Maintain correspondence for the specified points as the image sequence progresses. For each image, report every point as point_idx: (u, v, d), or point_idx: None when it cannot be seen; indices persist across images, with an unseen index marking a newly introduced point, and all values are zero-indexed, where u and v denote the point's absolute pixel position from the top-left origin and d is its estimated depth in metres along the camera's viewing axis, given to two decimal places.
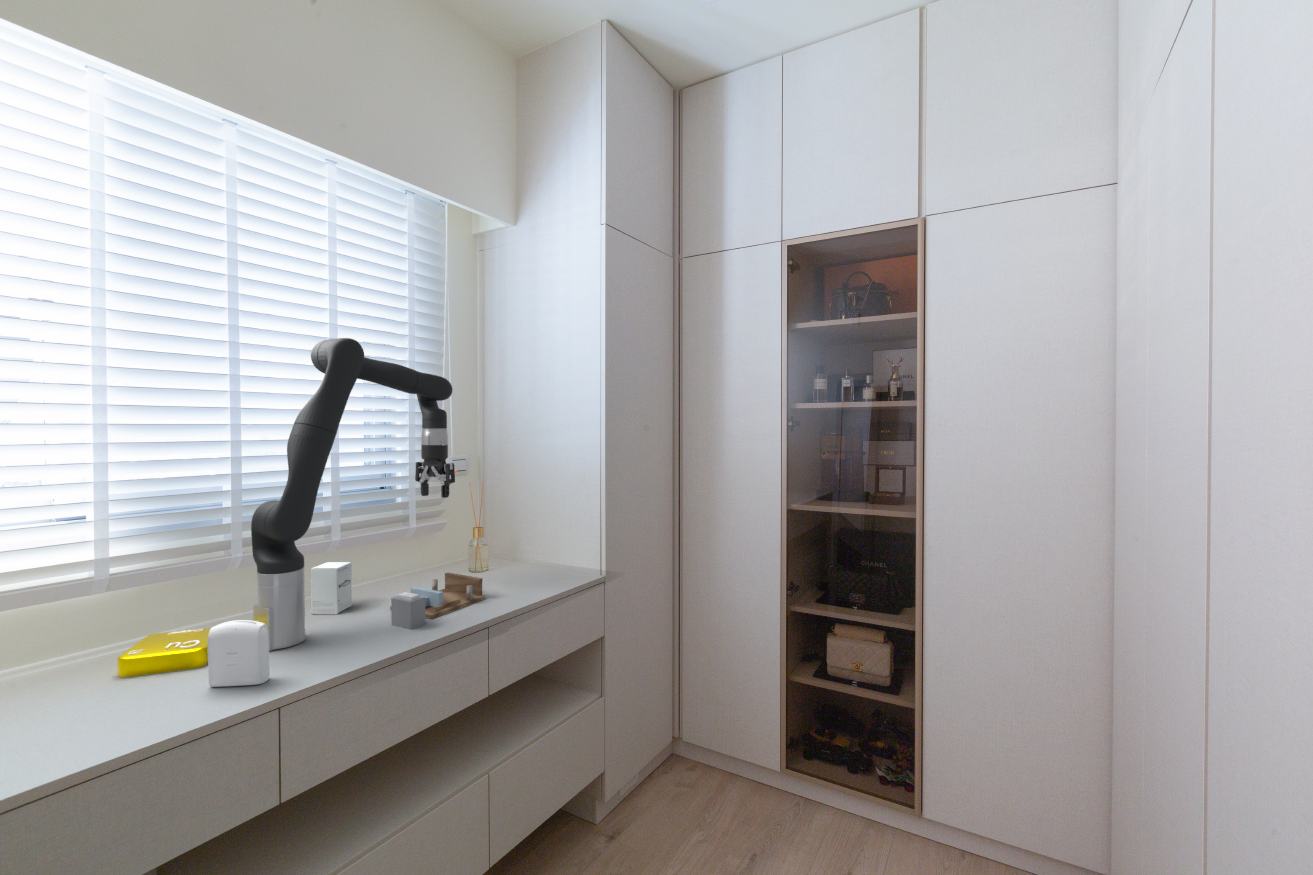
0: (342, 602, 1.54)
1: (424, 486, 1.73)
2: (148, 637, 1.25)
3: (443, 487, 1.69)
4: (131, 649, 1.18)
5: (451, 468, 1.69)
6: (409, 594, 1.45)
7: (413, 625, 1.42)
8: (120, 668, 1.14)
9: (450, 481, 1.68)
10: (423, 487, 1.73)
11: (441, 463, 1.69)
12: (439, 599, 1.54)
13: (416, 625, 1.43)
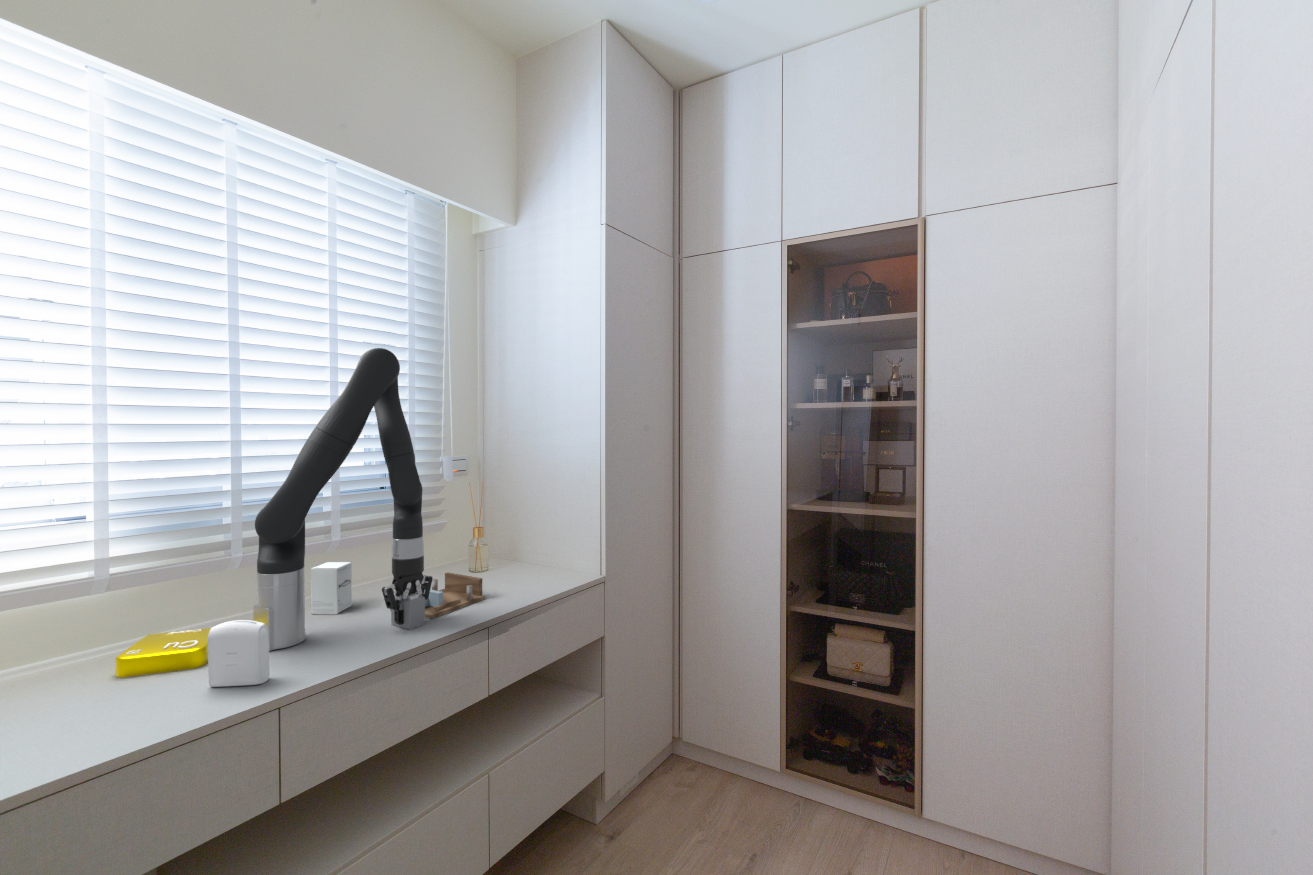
0: (342, 602, 1.54)
1: None
2: (146, 637, 1.25)
3: None
4: (129, 649, 1.18)
5: None
6: (409, 594, 1.45)
7: (413, 625, 1.42)
8: (118, 668, 1.14)
9: None
10: None
11: None
12: (439, 599, 1.54)
13: (416, 625, 1.43)
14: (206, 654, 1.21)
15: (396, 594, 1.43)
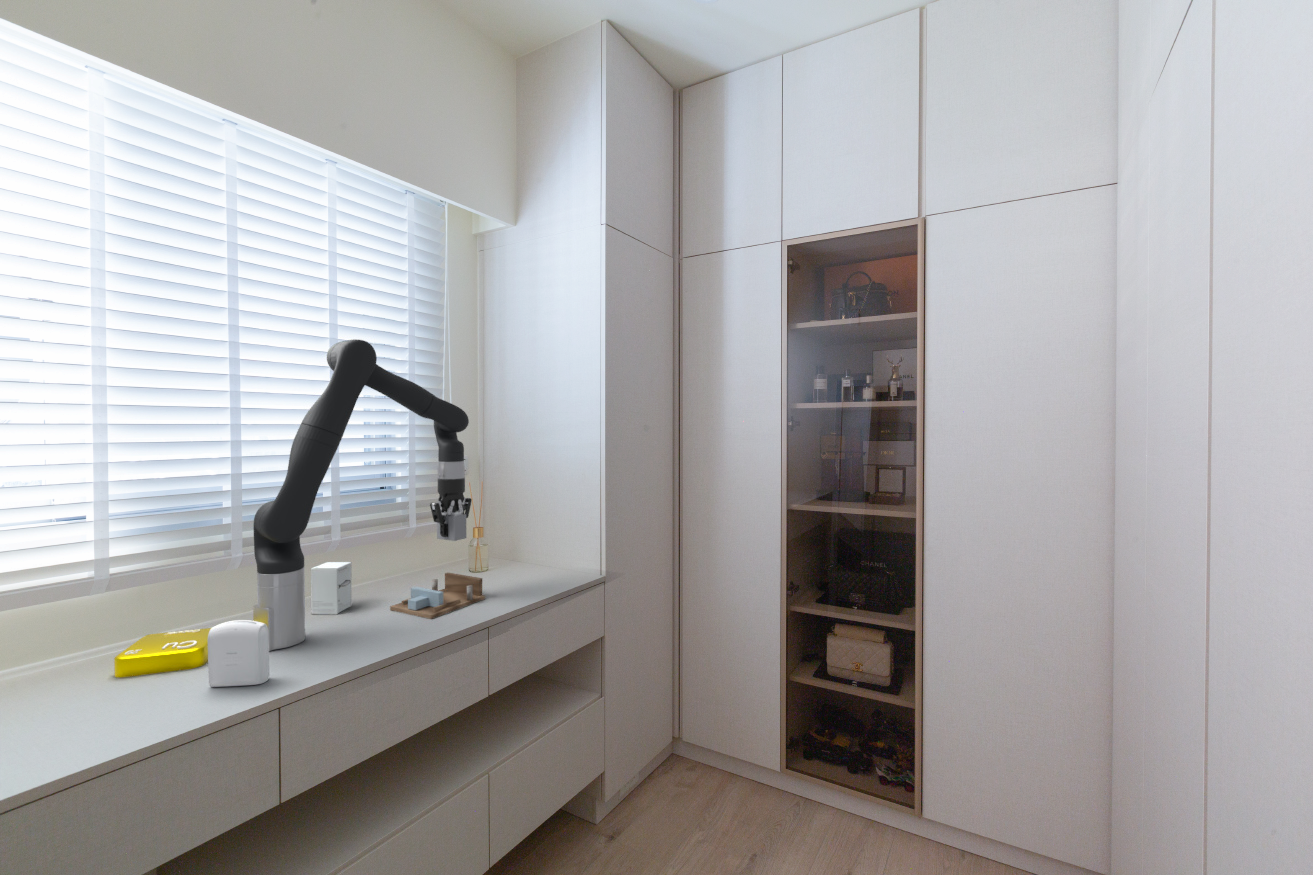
0: (342, 602, 1.54)
1: None
2: (145, 637, 1.25)
3: None
4: (128, 649, 1.18)
5: None
6: (453, 511, 1.65)
7: (456, 537, 1.62)
8: (117, 668, 1.14)
9: None
10: None
11: None
12: (439, 599, 1.54)
13: (459, 538, 1.63)
14: (205, 654, 1.21)
15: (441, 511, 1.63)
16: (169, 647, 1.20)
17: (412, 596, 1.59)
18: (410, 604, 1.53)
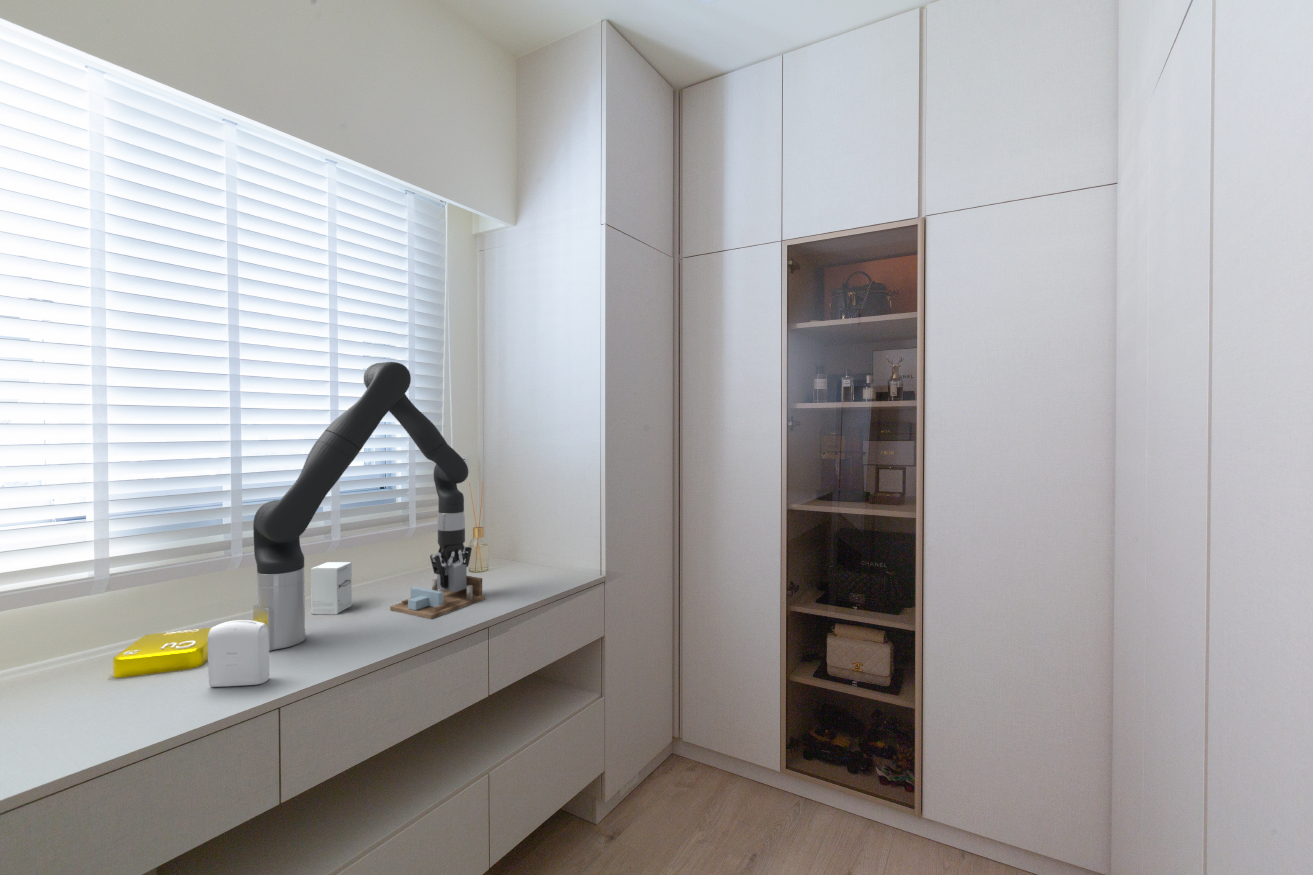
0: (342, 602, 1.54)
1: None
2: (144, 637, 1.25)
3: None
4: (127, 649, 1.18)
5: None
6: (453, 562, 1.65)
7: (457, 588, 1.62)
8: (115, 668, 1.14)
9: None
10: None
11: (464, 546, 1.68)
12: (439, 599, 1.54)
13: (459, 588, 1.63)
14: (204, 654, 1.21)
15: (441, 561, 1.63)
16: (168, 647, 1.19)
17: (412, 596, 1.59)
18: (410, 604, 1.53)
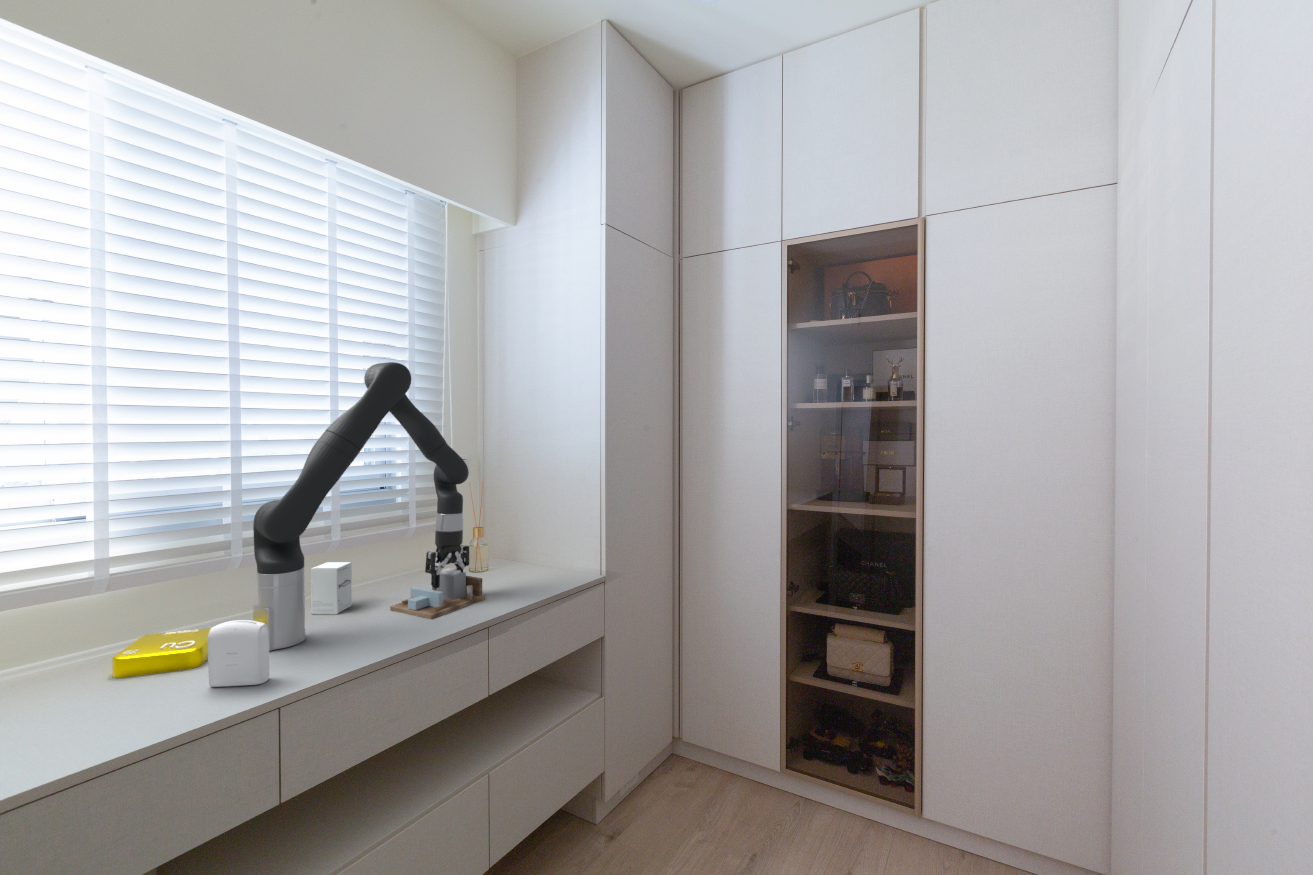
0: (342, 602, 1.54)
1: None
2: (143, 637, 1.25)
3: (461, 571, 1.67)
4: (126, 649, 1.18)
5: None
6: (452, 570, 1.65)
7: (456, 596, 1.62)
8: (115, 668, 1.14)
9: None
10: None
11: (460, 547, 1.67)
12: (439, 599, 1.54)
13: (458, 597, 1.63)
14: (203, 654, 1.21)
15: (436, 561, 1.62)
16: (167, 647, 1.19)
17: (412, 596, 1.59)
18: (410, 604, 1.53)
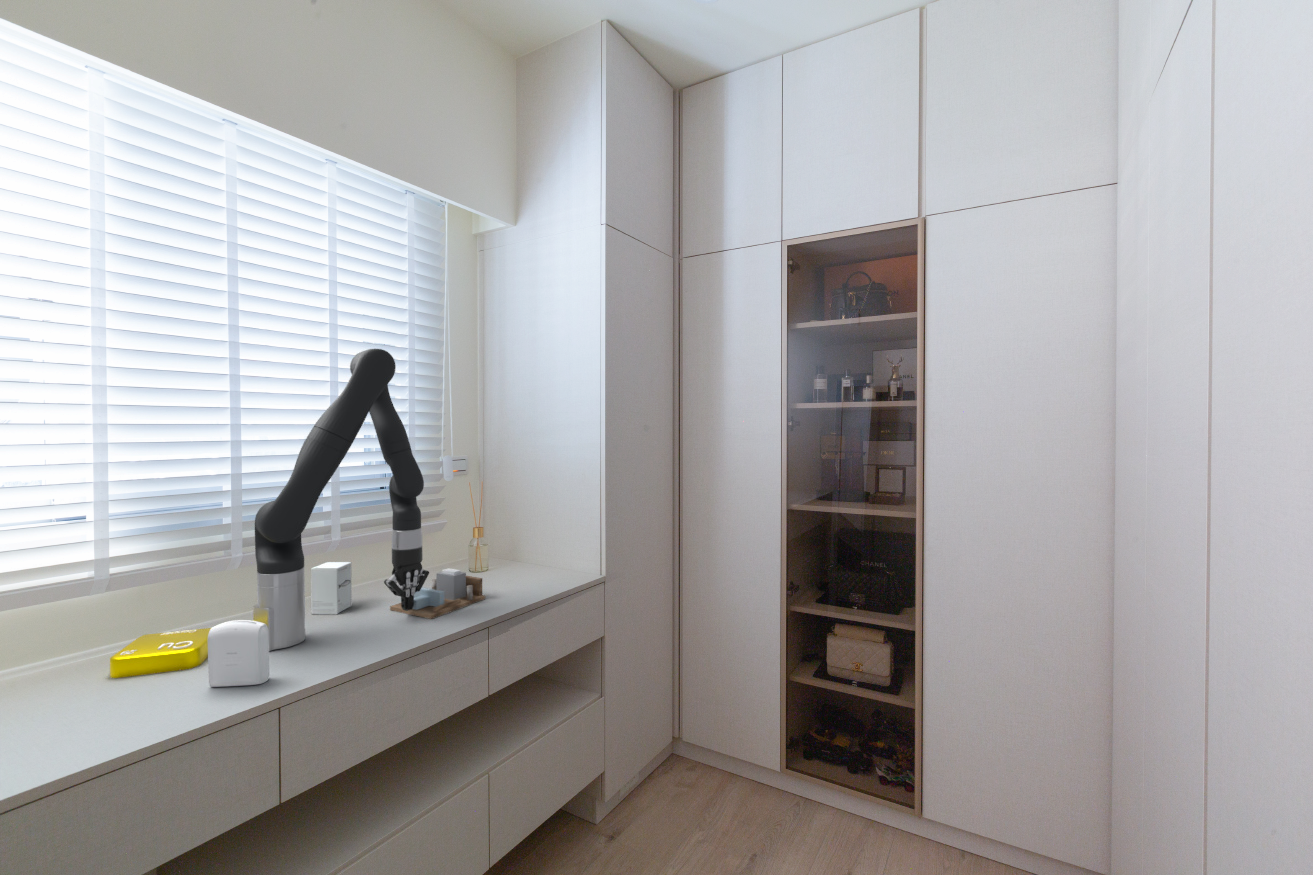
0: (342, 602, 1.54)
1: None
2: (141, 638, 1.25)
3: (412, 597, 1.52)
4: (124, 649, 1.18)
5: None
6: (452, 570, 1.65)
7: (456, 596, 1.62)
8: (112, 668, 1.14)
9: None
10: None
11: None
12: (440, 599, 1.55)
13: (458, 597, 1.63)
14: (201, 655, 1.21)
15: (399, 583, 1.51)
16: (165, 647, 1.19)
17: None
18: None
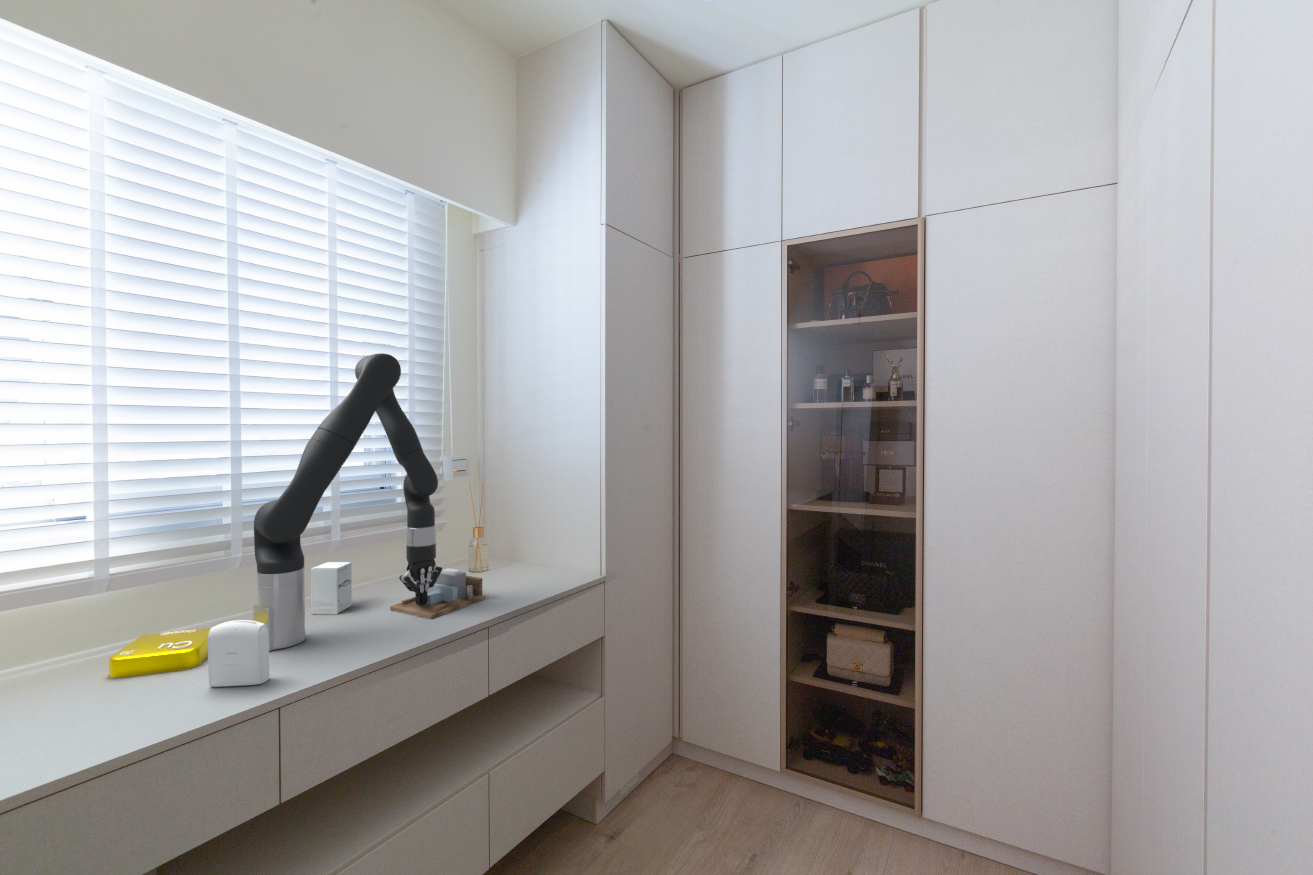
0: (342, 602, 1.54)
1: None
2: (141, 638, 1.25)
3: (425, 593, 1.56)
4: (123, 650, 1.18)
5: None
6: (452, 570, 1.65)
7: None
8: (112, 668, 1.14)
9: None
10: None
11: (435, 563, 1.59)
12: (453, 594, 1.59)
13: (458, 597, 1.63)
14: (200, 655, 1.21)
15: (413, 579, 1.55)
16: (164, 647, 1.19)
17: (427, 591, 1.63)
18: None
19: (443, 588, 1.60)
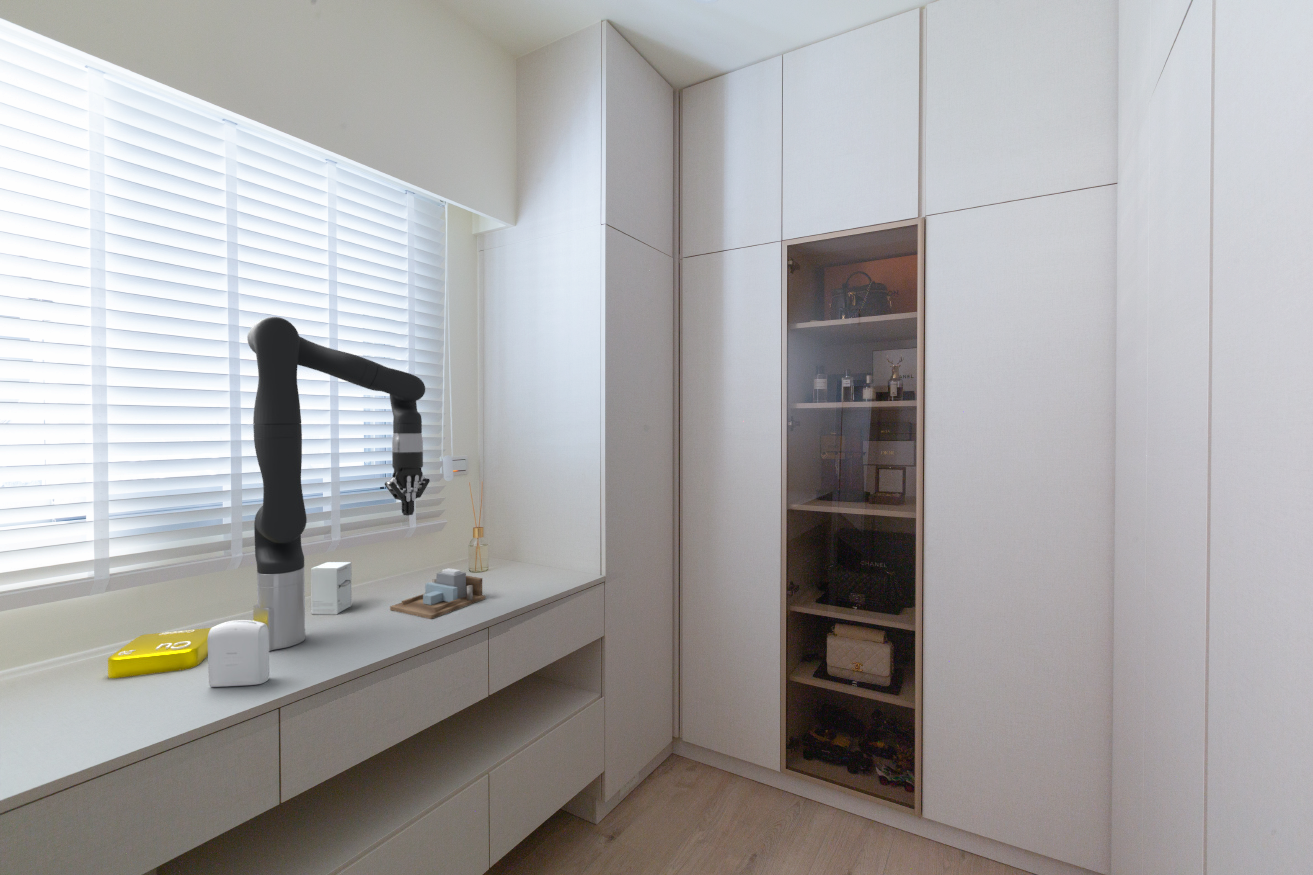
0: (342, 602, 1.54)
1: None
2: (139, 638, 1.25)
3: (412, 503, 1.52)
4: (122, 650, 1.18)
5: None
6: (452, 570, 1.65)
7: None
8: (110, 668, 1.14)
9: None
10: None
11: (422, 473, 1.54)
12: (453, 594, 1.59)
13: (458, 597, 1.63)
14: (199, 655, 1.21)
15: (400, 488, 1.51)
16: (163, 648, 1.19)
17: (427, 591, 1.63)
18: (425, 599, 1.58)
19: (443, 588, 1.60)
